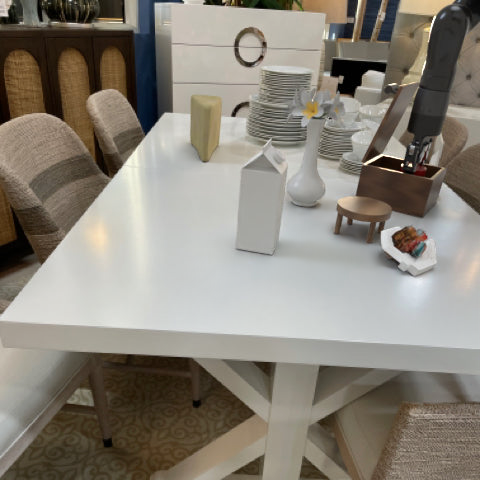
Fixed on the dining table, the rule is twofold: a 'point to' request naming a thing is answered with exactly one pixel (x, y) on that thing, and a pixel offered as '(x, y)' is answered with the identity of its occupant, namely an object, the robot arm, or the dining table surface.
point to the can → (417, 170)
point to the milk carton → (261, 201)
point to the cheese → (205, 124)
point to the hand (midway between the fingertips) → (409, 185)
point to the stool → (363, 213)
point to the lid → (391, 118)
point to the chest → (400, 185)
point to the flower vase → (311, 142)
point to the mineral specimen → (409, 249)
